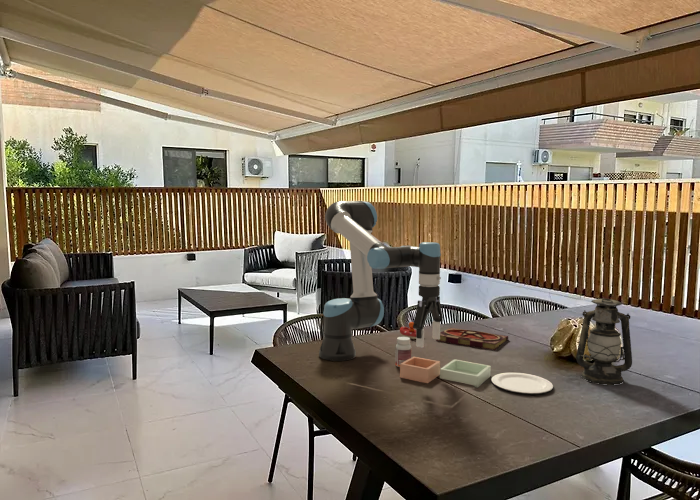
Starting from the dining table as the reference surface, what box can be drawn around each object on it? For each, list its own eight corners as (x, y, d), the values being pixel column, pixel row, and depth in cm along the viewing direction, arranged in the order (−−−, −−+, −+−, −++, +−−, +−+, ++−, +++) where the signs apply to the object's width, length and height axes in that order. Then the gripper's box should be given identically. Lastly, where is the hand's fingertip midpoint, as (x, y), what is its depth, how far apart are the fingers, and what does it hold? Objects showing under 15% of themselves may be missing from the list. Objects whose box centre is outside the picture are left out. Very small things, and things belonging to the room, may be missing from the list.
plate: (522, 401, 171) (522, 396, 171) (478, 381, 189) (479, 377, 189) (566, 391, 180) (566, 386, 180) (521, 373, 199) (521, 369, 199)
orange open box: (399, 378, 190) (400, 363, 189) (413, 370, 199) (413, 356, 199) (427, 384, 184) (428, 369, 184) (439, 376, 193) (440, 361, 193)
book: (508, 342, 245) (508, 332, 245) (494, 352, 227) (495, 340, 227) (451, 333, 260) (451, 323, 260) (434, 341, 242) (434, 331, 242)
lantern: (627, 375, 196) (632, 297, 194) (637, 393, 178) (642, 306, 176) (573, 369, 202) (577, 293, 200) (577, 386, 185) (582, 302, 182)
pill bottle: (414, 367, 203) (414, 339, 202) (401, 370, 200) (402, 341, 199) (404, 363, 208) (404, 335, 207) (392, 365, 205) (392, 337, 204)
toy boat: (404, 334, 255) (404, 318, 254) (425, 337, 248) (426, 322, 247) (396, 337, 249) (397, 321, 248) (418, 341, 242) (418, 325, 241)
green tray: (439, 379, 190) (439, 369, 189) (454, 369, 201) (454, 359, 201) (477, 387, 182) (478, 376, 182) (490, 376, 194) (490, 365, 193)
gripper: (423, 290, 176) (422, 352, 178) (452, 281, 196) (451, 337, 198) (403, 288, 180) (402, 348, 182) (434, 280, 201) (433, 334, 202)
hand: (428, 342), depth 190 cm, fingers open, 13 cm apart
